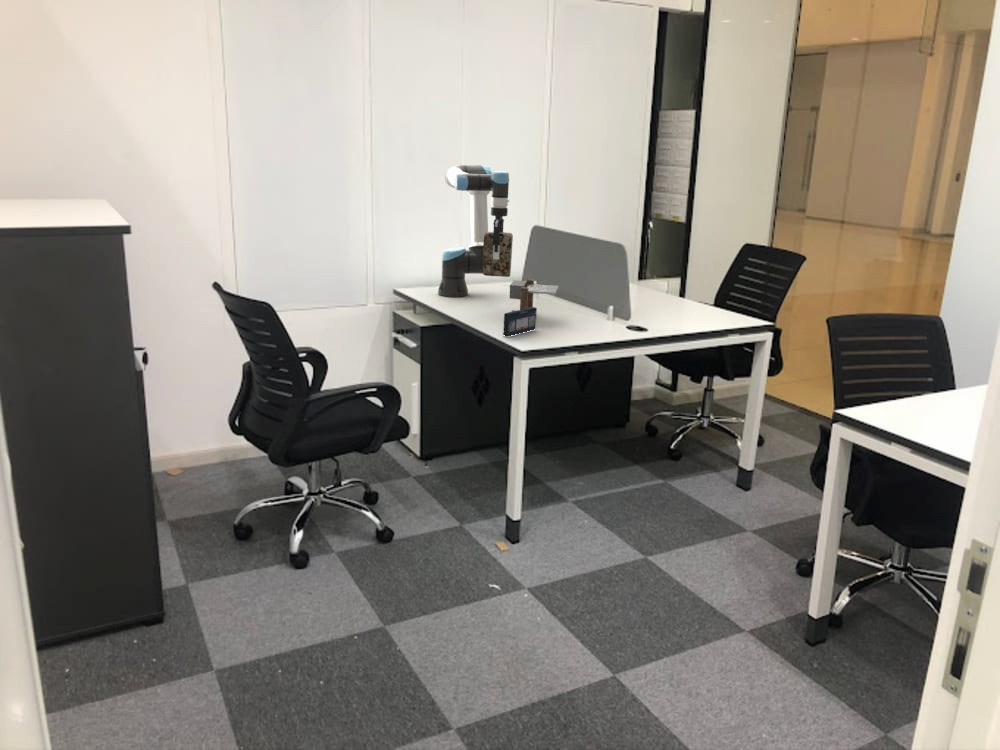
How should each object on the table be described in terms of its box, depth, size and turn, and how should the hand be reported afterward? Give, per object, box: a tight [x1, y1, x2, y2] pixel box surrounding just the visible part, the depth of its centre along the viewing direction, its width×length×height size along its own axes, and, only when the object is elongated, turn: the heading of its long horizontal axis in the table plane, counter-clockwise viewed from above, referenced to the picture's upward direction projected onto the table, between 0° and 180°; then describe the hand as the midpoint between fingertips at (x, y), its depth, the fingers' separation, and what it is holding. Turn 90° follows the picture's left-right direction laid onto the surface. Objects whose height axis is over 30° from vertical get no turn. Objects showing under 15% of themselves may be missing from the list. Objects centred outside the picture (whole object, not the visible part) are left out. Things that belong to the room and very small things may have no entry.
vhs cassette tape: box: [502, 306, 538, 336], centre depth 333 cm, size 18×3×10 cm, turn 137°
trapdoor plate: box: [509, 279, 559, 300], centre depth 356 cm, size 20×16×6 cm
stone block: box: [482, 231, 514, 278], centre depth 366 cm, size 13×7×20 cm, turn 88°
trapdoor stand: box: [511, 278, 535, 312], centre depth 358 cm, size 11×24×16 cm, turn 170°
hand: (497, 257), depth 367 cm, fingers closed on stone block, 6 cm apart
